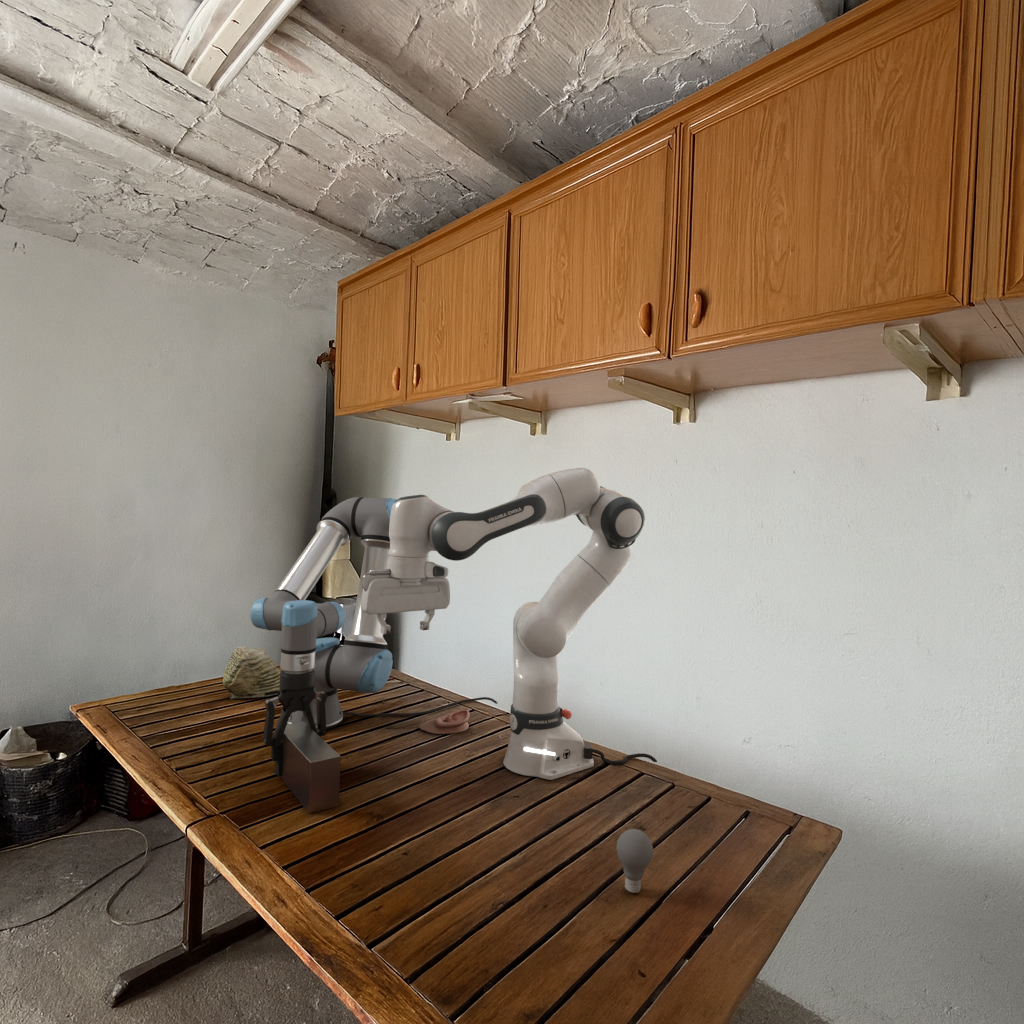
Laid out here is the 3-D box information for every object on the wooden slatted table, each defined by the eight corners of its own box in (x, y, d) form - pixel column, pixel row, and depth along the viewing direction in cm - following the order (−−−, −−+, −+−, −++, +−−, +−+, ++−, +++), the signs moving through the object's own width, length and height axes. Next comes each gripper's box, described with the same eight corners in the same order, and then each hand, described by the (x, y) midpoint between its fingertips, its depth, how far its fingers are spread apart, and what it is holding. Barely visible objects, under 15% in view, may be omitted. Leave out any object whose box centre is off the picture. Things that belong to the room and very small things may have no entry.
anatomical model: (415, 716, 173) (429, 704, 184) (414, 731, 173) (428, 717, 184) (462, 722, 170) (473, 709, 181) (461, 737, 170) (472, 722, 181)
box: (275, 770, 145) (276, 725, 145) (302, 765, 149) (303, 721, 149) (308, 813, 126) (310, 762, 126) (338, 806, 130) (340, 755, 130)
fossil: (218, 695, 195) (220, 647, 195) (278, 685, 208) (279, 640, 207) (228, 703, 189) (230, 653, 188) (289, 692, 201) (290, 645, 201)
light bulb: (610, 879, 108) (613, 822, 108) (644, 879, 109) (647, 822, 109) (619, 902, 102) (622, 840, 102) (655, 901, 103) (658, 840, 103)
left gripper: (258, 679, 135) (254, 786, 135) (344, 668, 146) (340, 767, 147) (249, 671, 141) (245, 773, 141) (332, 661, 152) (329, 756, 153)
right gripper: (369, 571, 130) (366, 639, 130) (454, 568, 142) (452, 630, 142) (357, 568, 135) (354, 633, 135) (440, 565, 147) (438, 625, 147)
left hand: (293, 770), depth 144 cm, fingers closed on box, 6 cm apart
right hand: (405, 631), depth 139 cm, fingers open, 8 cm apart
